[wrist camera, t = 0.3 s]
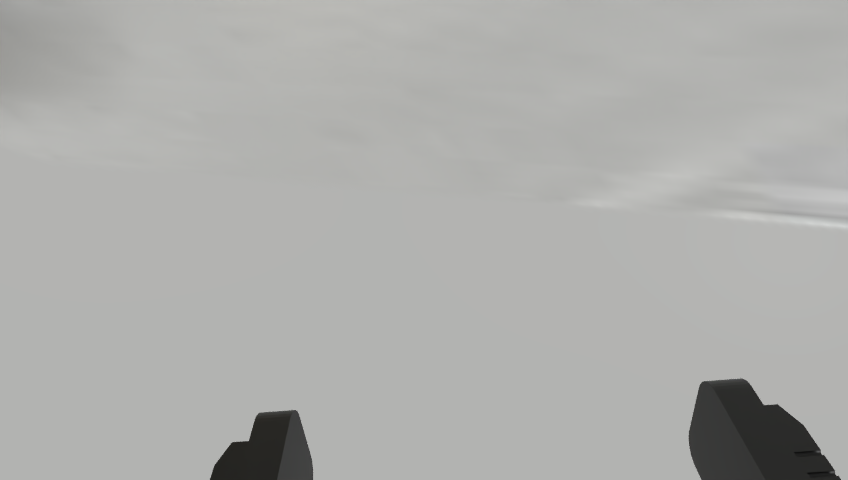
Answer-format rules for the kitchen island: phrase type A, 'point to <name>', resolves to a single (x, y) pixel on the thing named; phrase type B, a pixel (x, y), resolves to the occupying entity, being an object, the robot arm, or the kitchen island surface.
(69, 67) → the kitchen island surface
